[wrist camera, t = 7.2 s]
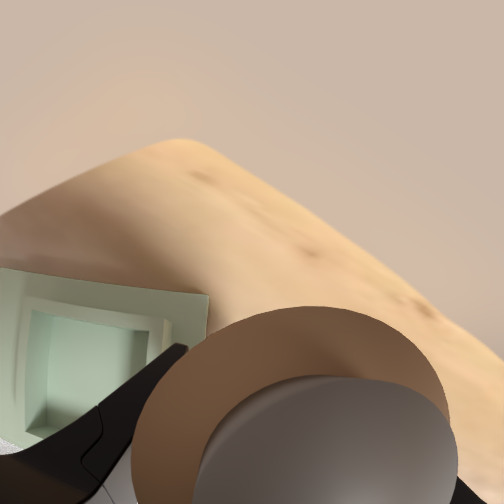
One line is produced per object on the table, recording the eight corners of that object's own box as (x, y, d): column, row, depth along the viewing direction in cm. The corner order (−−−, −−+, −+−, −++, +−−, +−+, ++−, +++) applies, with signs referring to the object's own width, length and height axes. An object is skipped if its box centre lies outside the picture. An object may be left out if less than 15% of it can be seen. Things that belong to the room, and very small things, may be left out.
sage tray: (-7, 428, 16) (-37, 434, 12) (5, 270, 21) (-25, 255, 17) (196, 488, 17) (191, 514, 13) (209, 297, 22) (205, 285, 18)
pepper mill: (192, 436, 14) (116, 620, 1) (201, 337, 15) (117, 258, 3) (295, 443, 14) (455, 588, 2) (303, 346, 16) (512, 295, 3)
